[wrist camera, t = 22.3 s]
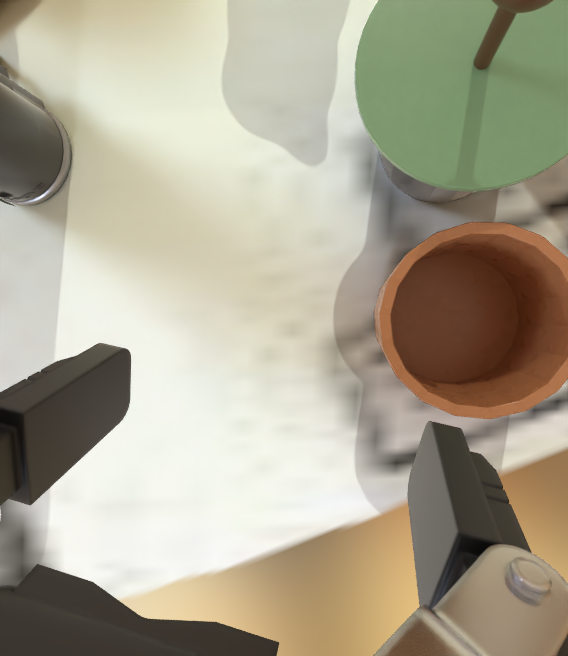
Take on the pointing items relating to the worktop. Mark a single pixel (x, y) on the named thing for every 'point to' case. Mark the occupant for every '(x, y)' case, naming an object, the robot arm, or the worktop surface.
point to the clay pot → (478, 320)
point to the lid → (466, 89)
